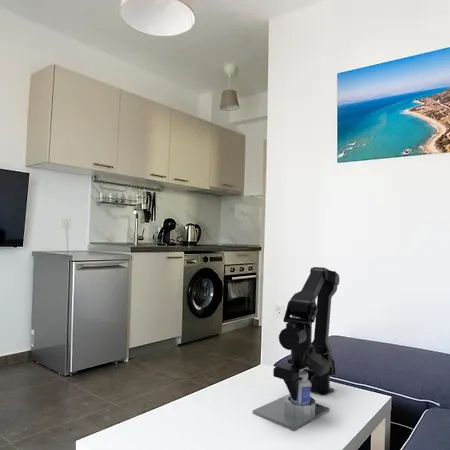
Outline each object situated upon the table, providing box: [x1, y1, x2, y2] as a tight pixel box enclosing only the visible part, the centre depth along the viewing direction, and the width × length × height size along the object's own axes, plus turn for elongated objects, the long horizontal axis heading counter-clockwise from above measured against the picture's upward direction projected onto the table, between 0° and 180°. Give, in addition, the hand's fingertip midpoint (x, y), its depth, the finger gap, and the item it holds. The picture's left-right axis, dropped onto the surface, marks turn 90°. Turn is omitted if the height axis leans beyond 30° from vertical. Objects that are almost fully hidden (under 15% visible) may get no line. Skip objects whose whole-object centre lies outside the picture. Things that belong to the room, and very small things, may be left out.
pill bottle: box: [291, 370, 311, 405], centre depth 112 cm, size 5×5×10 cm
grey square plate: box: [252, 393, 331, 432], centre depth 112 cm, size 18×14×4 cm
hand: (300, 397), depth 112 cm, fingers closed on pill bottle, 5 cm apart
